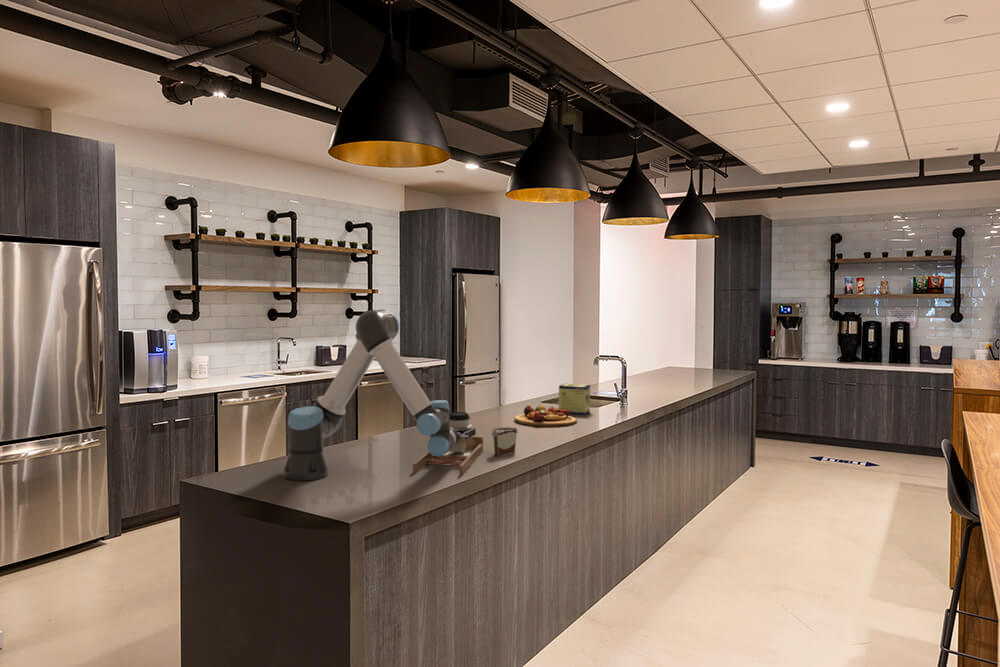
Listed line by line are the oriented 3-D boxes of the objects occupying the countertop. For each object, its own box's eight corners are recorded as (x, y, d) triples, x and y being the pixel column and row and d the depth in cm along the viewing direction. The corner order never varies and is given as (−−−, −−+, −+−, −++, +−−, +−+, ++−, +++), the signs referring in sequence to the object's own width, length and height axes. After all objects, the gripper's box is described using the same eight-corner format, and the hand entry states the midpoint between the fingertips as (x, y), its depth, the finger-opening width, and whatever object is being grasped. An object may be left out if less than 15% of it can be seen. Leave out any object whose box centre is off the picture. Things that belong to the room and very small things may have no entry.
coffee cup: (474, 450, 274) (474, 413, 273) (456, 454, 267) (457, 416, 266) (457, 446, 281) (458, 410, 280) (440, 450, 274) (440, 413, 273)
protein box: (585, 415, 370) (586, 386, 370) (558, 413, 376) (558, 385, 375) (590, 412, 380) (590, 384, 379) (563, 410, 386) (563, 383, 385)
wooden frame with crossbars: (413, 473, 244) (413, 456, 244) (440, 449, 283) (440, 434, 283) (462, 475, 241) (462, 459, 241) (483, 451, 280) (483, 436, 280)
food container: (506, 449, 284) (507, 425, 283) (517, 452, 279) (517, 428, 279) (485, 454, 275) (485, 429, 275) (495, 456, 271) (496, 431, 270)
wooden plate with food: (556, 430, 328) (556, 413, 328) (502, 422, 346) (502, 406, 346) (587, 422, 354) (588, 406, 354) (535, 415, 373) (536, 400, 372)
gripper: (419, 447, 258) (434, 435, 280) (474, 449, 254) (485, 437, 277) (419, 427, 257) (434, 417, 280) (475, 429, 254) (485, 419, 276)
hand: (459, 427), depth 278 cm, fingers closed on coffee cup, 9 cm apart
